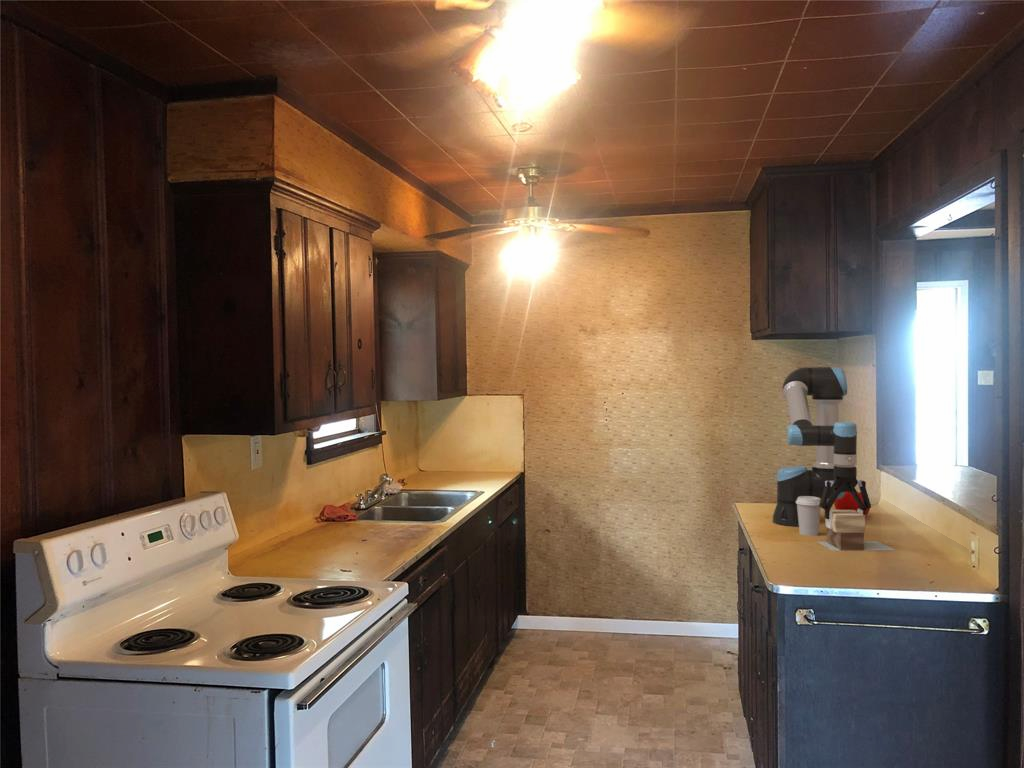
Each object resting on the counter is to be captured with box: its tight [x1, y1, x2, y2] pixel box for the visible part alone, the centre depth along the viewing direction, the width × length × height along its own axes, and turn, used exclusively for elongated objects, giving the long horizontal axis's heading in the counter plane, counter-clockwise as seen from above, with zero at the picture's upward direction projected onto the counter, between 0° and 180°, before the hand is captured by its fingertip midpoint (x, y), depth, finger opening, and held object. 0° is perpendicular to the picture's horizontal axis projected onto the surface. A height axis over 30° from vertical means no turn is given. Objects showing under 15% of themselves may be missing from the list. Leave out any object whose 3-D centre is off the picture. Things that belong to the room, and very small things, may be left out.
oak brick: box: [825, 509, 866, 534], centre depth 269 cm, size 10×10×6 cm
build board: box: [817, 540, 896, 552], centre depth 269 cm, size 13×22×1 cm, turn 90°
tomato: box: [833, 491, 871, 517], centre depth 326 cm, size 13×14×12 cm
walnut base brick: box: [826, 527, 865, 551], centre depth 269 cm, size 12×8×6 cm, turn 0°
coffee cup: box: [796, 496, 822, 537], centre depth 289 cm, size 10×10×15 cm
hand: (844, 528), depth 269 cm, fingers closed on oak brick, 10 cm apart
